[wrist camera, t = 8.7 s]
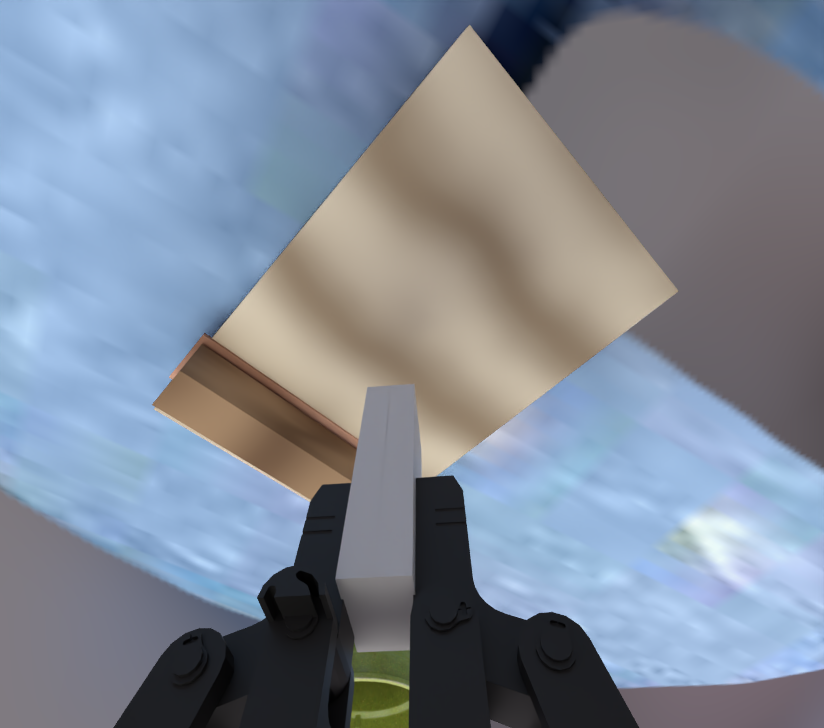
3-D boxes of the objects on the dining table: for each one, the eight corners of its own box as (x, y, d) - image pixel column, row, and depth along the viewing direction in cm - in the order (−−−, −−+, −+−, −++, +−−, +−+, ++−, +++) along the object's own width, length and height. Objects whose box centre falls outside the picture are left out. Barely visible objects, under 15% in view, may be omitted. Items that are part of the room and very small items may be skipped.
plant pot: (294, 556, 33) (262, 689, 26) (421, 542, 33) (426, 674, 25) (325, 627, 38) (306, 757, 30) (436, 615, 37) (445, 745, 30)
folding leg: (393, 474, 25) (392, 517, 23) (365, 496, 26) (361, 540, 24) (201, 343, 21) (173, 378, 18) (175, 375, 22) (145, 413, 19)
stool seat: (454, 25, 17) (462, 13, 15) (652, 272, 23) (680, 292, 20) (168, 378, 25) (145, 406, 23) (364, 501, 30) (361, 534, 28)
